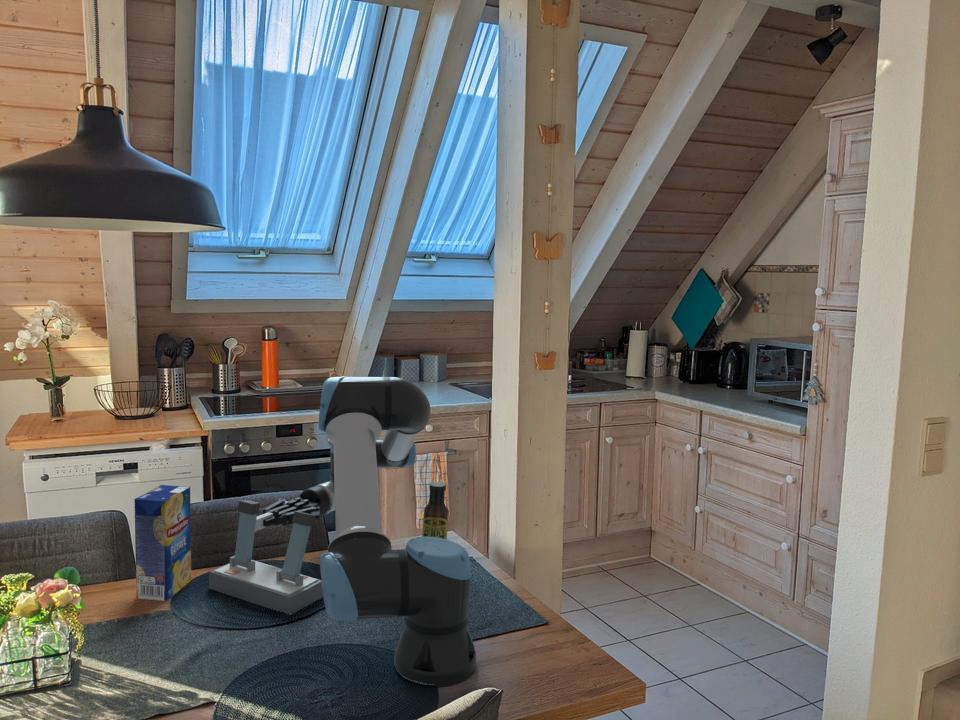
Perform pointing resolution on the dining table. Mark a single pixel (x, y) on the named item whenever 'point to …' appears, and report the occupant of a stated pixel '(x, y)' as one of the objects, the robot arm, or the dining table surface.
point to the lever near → (297, 545)
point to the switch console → (265, 586)
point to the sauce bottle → (436, 512)
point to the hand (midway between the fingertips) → (249, 526)
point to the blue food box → (162, 542)
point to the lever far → (246, 532)
